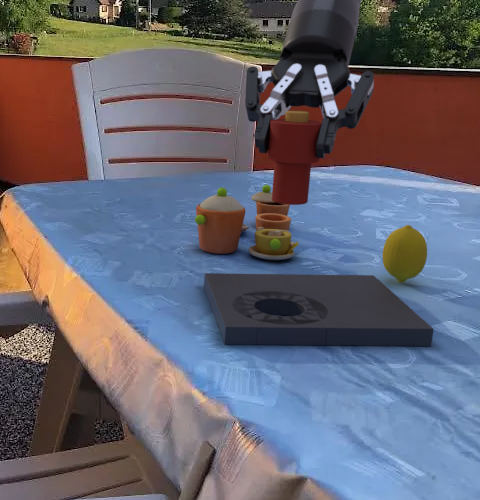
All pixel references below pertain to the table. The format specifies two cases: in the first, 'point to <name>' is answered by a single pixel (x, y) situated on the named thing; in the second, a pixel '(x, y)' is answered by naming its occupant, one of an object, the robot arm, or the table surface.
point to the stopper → (292, 156)
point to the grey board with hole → (312, 311)
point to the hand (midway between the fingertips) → (290, 150)
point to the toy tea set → (231, 225)
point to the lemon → (404, 253)
